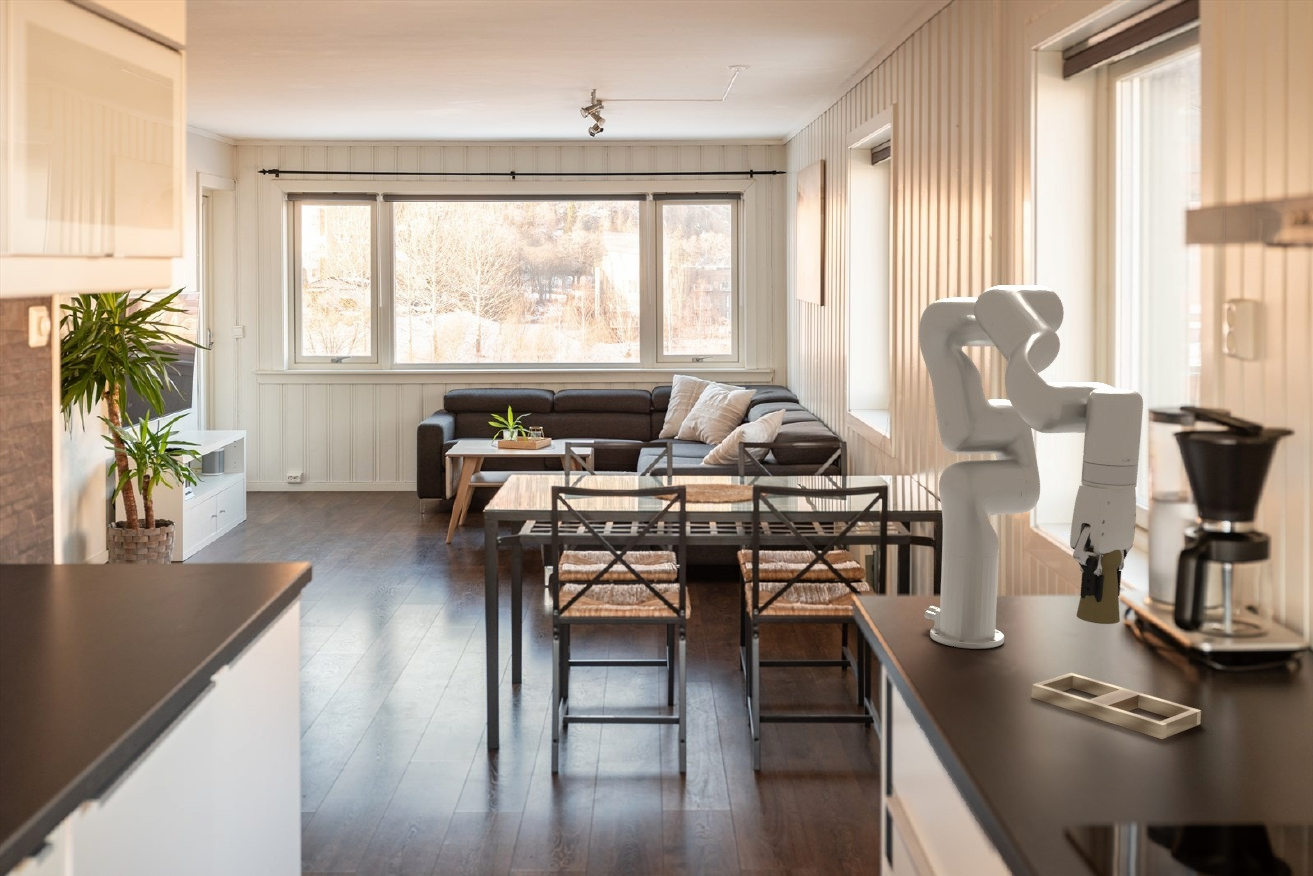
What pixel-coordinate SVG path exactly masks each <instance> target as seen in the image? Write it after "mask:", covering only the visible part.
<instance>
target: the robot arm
mask: <svg viewBox="0 0 1313 876" xmlns="http://www.w3.org/2000/svg"><path fill="white" fill-rule="evenodd" d="M1063 305H1064V304H1063V302H1062V300H1061V299H1060V297H1059V295H1058V294H1057V293H1056V292H1055V290H1053V289H1051V288H1048V287H1047V286H1041V285H1010V284H1009V285H997V286H993V287H990V288H988V289H986V290H984V291H982V292H981V293H980V294H979V295H978V297H950V298H949V297H948V298H942V299H939V300H936V301H933V302H932V303H930V304H929V305H928V306H927V307H926V308H925V309H924V311H923V313H922V315H921V318H920V321H919V325H918V341H919V342H918V343H919V347H920V352H921V355H922V358H923V361H924V363H925V366H926V368H927V372H928V375H929V377H930V381H931V386H932V393H933V398H934V399H933V400H934V406H935V415H936V419H937V427H938V432H939V437H940V441H941V443H942V446H943V447H944V449H945V450H946V451H947V452H950V453H952V454H957V455H980V454H981V455H985V454H986V455H987V454H995V457H996V459H980V460H978V459H977V460H966V461H965V460H964V461H962V460H961V461H958V462H955V463H953V464H950V465H949V466H948V467H946V468H945V469H944V470H943V471H942V473H941V474H940V477H939V481H938V495H939V500H940V506H941V514H942V516H941V517H942V550H941V551H942V552H941V573H940V574H941V578H940V579H941V580H940V581H941V582H940V599H939V600H940V603H939V605H940V606H939V607H937V606H935V605H929V606H928V608H927V610H926V611H925V612H924V615H923V616H924V618H925V619H928V620H931V621H932V620H933V621H934V626H933V627H931V629H930V631H929V636H930V639H932V640H933V641H935V642H937V643H939V644H942V645H946V646H949V647H953V646H954V648H961V649H973V650H976V649H977V650H979V649H982V650H983V649H992V648H997V647H1000V646H1001V645H1003V644H1004V642H1005V635H1004V634H1003V633H1002V632H1001V631H999V630H998V629H996V621H997V599H998V581H999V580H998V579H999V557H1000V556H999V554H1000V553H999V552H1000V551H999V550H1000V543H999V537H998V535H997V532H996V530H995V529H994V527H993V526H992V524H991V522H990V521H989V518H988V517H989V516H996V515H997V516H998V515H1012V514H1013V515H1014V514H1015V515H1017V514H1023V513H1027V512H1030V511H1031V510H1033V509H1034V508H1035V507H1036V505H1037V504H1038V502H1039V499H1040V495H1041V479H1040V471H1039V465H1038V460H1037V455H1036V448H1035V442H1034V436H1033V430H1034V431H1036V432H1039V433H1042V434H1063V433H1064V434H1067V433H1069V434H1070V433H1071V434H1073V433H1075V434H1076V433H1077V434H1079V433H1080V434H1082V433H1083V434H1084V440H1083V441H1084V442H1083V455H1082V467H1081V481H1080V482H1081V483H1079V486H1078V490H1077V492H1076V497H1075V502H1074V507H1073V514H1072V519H1071V528H1070V537H1069V546H1070V548H1071V549H1072V550H1073V554H1072V557H1073V559H1074V560H1075V561H1077V562H1078V564H1079V566H1080V568H1079V569H1080V572H1081V583H1080V584H1081V585H1080V595H1079V596H1080V597H1081V598H1084V599H1085V596H1086V595H1087V596H1092V595H1094V596H1095V599H1096V601H1097V602H1100V601H1101V600H1102V594H1103V581H1104V575H1100V574H1101V572H1102V566H1103V565H1102V560H1103V556H1104V554H1107V553H1110V552H1113V551H1114V550H1120V551H1121V554H1122V562H1121V564H1120V566H1119V567H1118V568H1117V581H1118V597H1120V596H1121V595H1120V594H1121V593H1120V592H1121V581H1122V570H1124V568H1125V560H1126V558H1127V556H1128V554H1129V552H1130V550H1131V549H1132V548H1133V545H1134V541H1135V534H1136V524H1137V492H1136V487H1137V483H1138V470H1139V461H1140V449H1141V448H1140V447H1141V435H1142V422H1143V409H1144V401H1143V400H1144V399H1143V396H1142V395H1141V394H1140V393H1139V392H1137V391H1135V390H1131V389H1125V388H1124V389H1123V388H1117V387H1116V388H1115V387H1113V386H1111V385H1108V384H1106V383H1102V382H1095V381H1094V382H1093V381H1092V382H1046V381H1045V380H1044V379H1043V378H1042V376H1040V375H1039V373H1042V372H1043V371H1044V370H1046V369H1047V368H1048V367H1049V366H1051V364H1052V363H1054V361H1055V360H1056V358H1057V356H1058V355H1059V352H1060V350H1061V349H1060V347H1061V342H1060V338H1059V336H1058V334H1057V331H1058V330H1059V329H1060V327H1061V326H1062V323H1063V320H1064V306H1063ZM963 347H995V348H996V349H997V350H998V351H999V353H1000V355H1002V357H1003V358H1004V359H1005V360H1006V361H1007V365H1006V370H1005V375H1004V384H1005V391H1006V396H1007V398H1008V399H988V398H987V397H986V396H985V393H984V389H983V381H982V376H981V373H980V370H979V369H978V368H977V365H975V362H974V361H973V360H972V359H971V358H970V357H969V356H968V355H967V354H966V353H965V352H964V351H963ZM1090 547H1091V548H1094V550H1093V551H1094V552H1091V551H1089V549H1090ZM1088 555H1089V556H1093V557H1096V561H1095V562H1094V561H1093V559H1092V558H1089V557H1088Z"/></svg>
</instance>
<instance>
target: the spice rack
mask: <svg viewBox="0 0 1313 876" xmlns="http://www.w3.org/2000/svg"><path fill="white" fill-rule="evenodd" d="M1070 689H1074V690H1078V691H1081V692H1085V693H1088V694H1090V695H1094V696H1096V697H1093V698H1090V699H1088V698H1086V697H1085V698H1084V697H1082V696H1079V695H1075V694H1072V693H1068V692H1066V691H1067V690H1070ZM1030 694H1031V696H1030V697H1031V698H1032V699H1035V700H1038V701H1041V702H1044V703H1047V704H1050V705H1052V706H1056V707H1060V708H1062V709H1063V708H1064V709H1065V710H1070V711H1073V712H1076V713H1078V714H1082V715H1084V716H1087V717H1091V718H1094V719H1097V720H1101V721H1104V722H1107V723H1110V724H1112V725H1116V726H1120V727H1122V728H1126V729H1128V730H1133V731H1134V732H1135V731H1136V732H1137V733H1141V734H1145V735H1148V736H1151V737H1154V738H1157V739H1160V740H1164V739H1166V738H1168V737H1172V736H1174V735H1177V734H1178V733H1182V732H1184V731H1187V730H1189V729H1192V728H1194V727H1197V726H1199V725H1201V719H1202V718H1201V716H1202V710H1201V709H1198V708H1193V707H1190V706H1187V705H1184V704H1181V703H1180V704H1179V703H1176V702H1173V701H1170V700H1166V699H1163V698H1159V697H1156V696H1153V695H1149V694H1145V693H1142V692H1139V691H1135V690H1132V689H1128V688H1125V687H1122V686H1118V685H1115V684H1111V683H1108V682H1104V681H1101V680H1098V679H1095V678H1090V677H1087V676H1084V675H1080V674H1077V673H1074V672H1069V673H1064V674H1062V675H1059V676H1055V677H1053V678H1050V679H1049V678H1048V679H1047V680H1043V681H1038V682H1036V683H1033V684H1031V693H1030ZM1136 709H1140V710H1144V711H1146V712H1151V713H1154V714H1157V715H1160V716H1164V717H1167V718H1165V719H1163V720H1158V719H1157V720H1156V719H1153V718H1150V717H1146V716H1145V715H1144V716H1143V715H1140V714H1137V713H1133V712H1130V711H1133V710H1136Z"/></svg>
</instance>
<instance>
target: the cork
mask: <svg viewBox="0 0 1313 876" xmlns="http://www.w3.org/2000/svg"><path fill="white" fill-rule="evenodd" d="M1093 550H1094V548H1091V547H1090V549H1089V551H1091V552H1094V551H1093ZM1088 557H1089V558H1092V559H1093V561H1094V562H1095V561H1096V557H1093V556H1089V555H1088ZM1121 562H1122V554H1121V551H1120V550H1114V551H1113V552H1110V553H1107V554H1104V556H1103V560H1102V565H1103V566H1102V572H1101V574H1100V575H1104V581H1103V594H1102V600H1101V601H1100V602H1097V601H1096V599H1095V596H1094V595H1092V596H1087V595H1086V596H1085V599H1084V598H1081V596H1080V598H1079V603H1078V608H1077V612H1076V617H1077V618H1078V619H1080V620H1081V621H1085V622H1088V623H1093V624H1099V625H1100V624H1101V625H1113V624H1118V623H1119V622H1120V621H1121V620H1120V618H1121V617H1120V604H1119V603H1120V600H1119V596H1118V581H1117V568H1118V567H1119V566H1120V564H1121Z"/></svg>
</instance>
